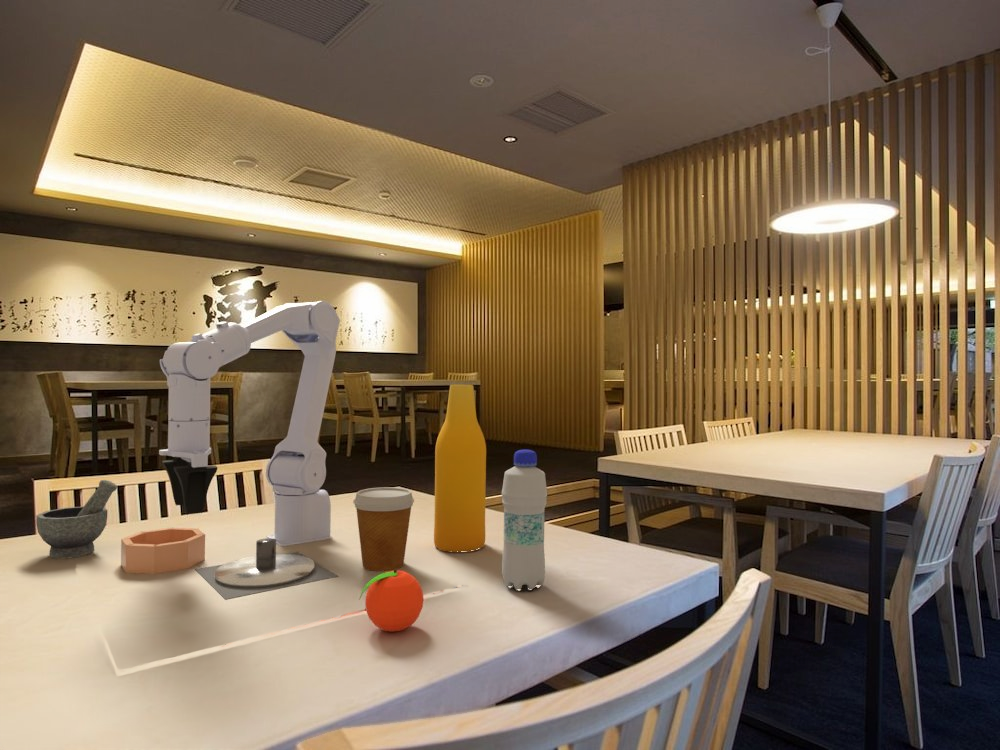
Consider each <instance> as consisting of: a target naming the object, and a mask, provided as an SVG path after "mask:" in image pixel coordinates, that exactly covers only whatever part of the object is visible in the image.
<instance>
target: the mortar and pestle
mask: <svg viewBox="0 0 1000 750" xmlns="http://www.w3.org/2000/svg"><path fill="white" fill-rule="evenodd" d="M117 489H118V485H117V484H116V483H115V482H112V481H110V480H107V479H103V480H102V479H101V480H100V481H99V482H98V487H97V488H96V490H95V491H94V493H93V494H92V495H91V496H90V498H89V499H88V500H87V502H85V504H84V506H70V507H63V508H57V509H56V508H55V509H51V510H46V511H44V512H41V513H38V514H36V515H35V516H36V520H35V521H36V528H37V533H38V534H39V536H40V538H41V540H43V542H44V543H46V544H47V545H49V546H50V549H49V554H48V555H50V556H51V557H52V558H51V557H50V556H49V557H50V558H51V559H58V558H65V559H69V558H68V557H74V558H79V556H80V557H84V556H87V555H86V554H88V555H90V554H92V553H93V551H94V552H95V544H94V541H96V539H98V538H99V537H100V536H101V535H102V533H103V531H104V530H105V528H106V526H107V521H108V509H107V508H105V506H106V505H107V503H108V501H109V500H110V497H111V496H112V494H113V493H114V492H115V491H117ZM91 552H92V553H91ZM89 553H90V554H89ZM83 555H84V556H83Z"/></svg>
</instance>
